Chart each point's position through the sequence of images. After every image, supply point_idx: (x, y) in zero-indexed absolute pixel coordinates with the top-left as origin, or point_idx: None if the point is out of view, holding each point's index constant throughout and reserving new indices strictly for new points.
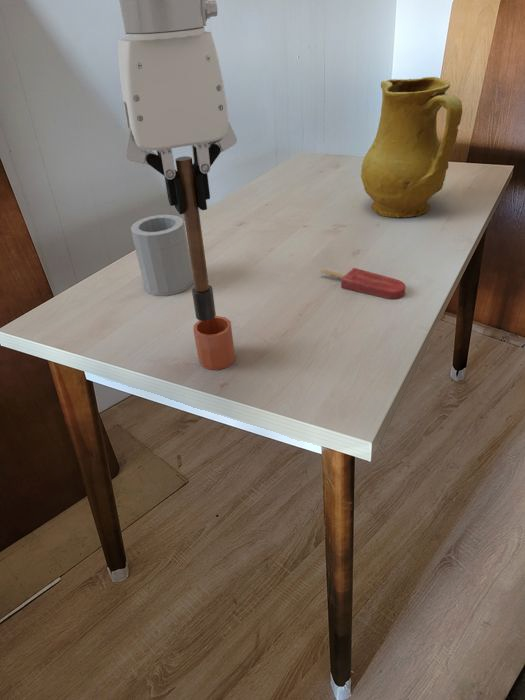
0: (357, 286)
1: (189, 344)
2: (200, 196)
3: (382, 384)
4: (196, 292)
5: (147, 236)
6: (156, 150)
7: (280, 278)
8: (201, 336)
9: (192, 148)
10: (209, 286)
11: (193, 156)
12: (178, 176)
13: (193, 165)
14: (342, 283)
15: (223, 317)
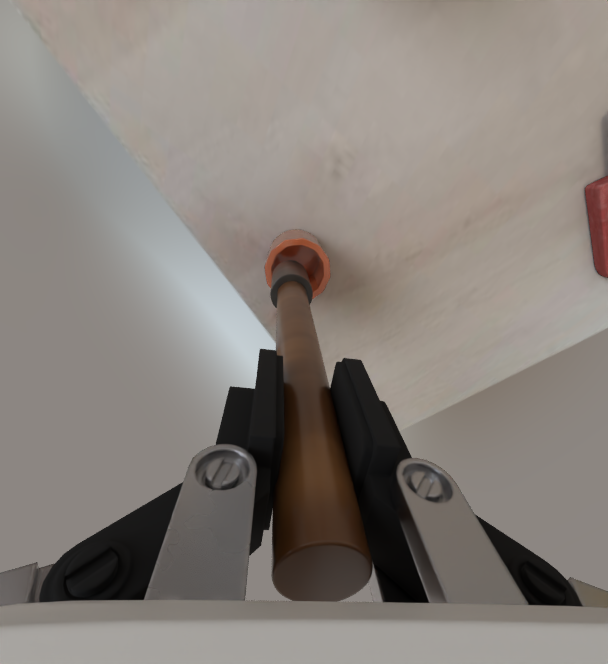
0: (596, 219)
1: (273, 190)
2: None
3: (426, 403)
4: (276, 301)
5: None
6: (148, 588)
7: (546, 58)
8: (270, 287)
9: (429, 580)
10: (308, 293)
11: (406, 531)
12: (271, 500)
13: (372, 513)
14: (592, 190)
15: (326, 258)
